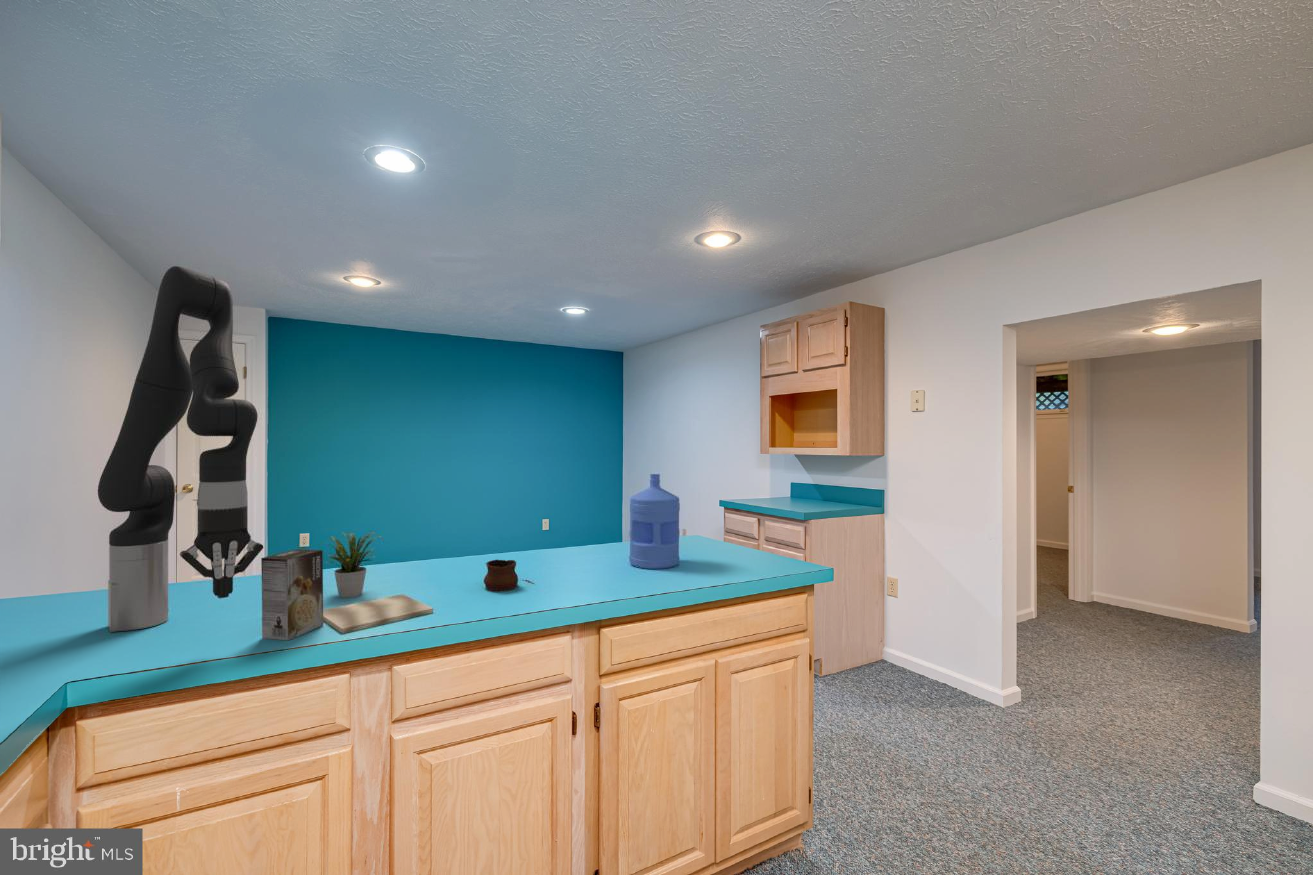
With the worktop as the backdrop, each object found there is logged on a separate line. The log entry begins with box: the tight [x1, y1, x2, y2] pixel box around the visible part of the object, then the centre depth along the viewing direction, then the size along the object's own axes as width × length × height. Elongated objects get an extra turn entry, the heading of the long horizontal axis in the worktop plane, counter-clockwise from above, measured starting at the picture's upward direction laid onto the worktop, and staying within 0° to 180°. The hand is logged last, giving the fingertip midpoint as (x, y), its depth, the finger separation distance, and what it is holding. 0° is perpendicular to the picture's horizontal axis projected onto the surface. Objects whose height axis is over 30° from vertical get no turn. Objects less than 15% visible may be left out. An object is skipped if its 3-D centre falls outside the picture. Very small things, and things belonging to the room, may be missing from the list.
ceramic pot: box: [483, 559, 535, 593], centre depth 151 cm, size 18×18×7 cm
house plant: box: [321, 530, 383, 599], centre depth 144 cm, size 14×14×16 cm
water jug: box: [628, 473, 681, 570], centre depth 180 cm, size 16×16×28 cm
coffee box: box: [260, 548, 324, 642], centre depth 117 cm, size 9×6×16 cm
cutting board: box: [323, 593, 434, 634], centre depth 128 cm, size 19×16×1 cm
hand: (223, 596), depth 108 cm, fingers closed
